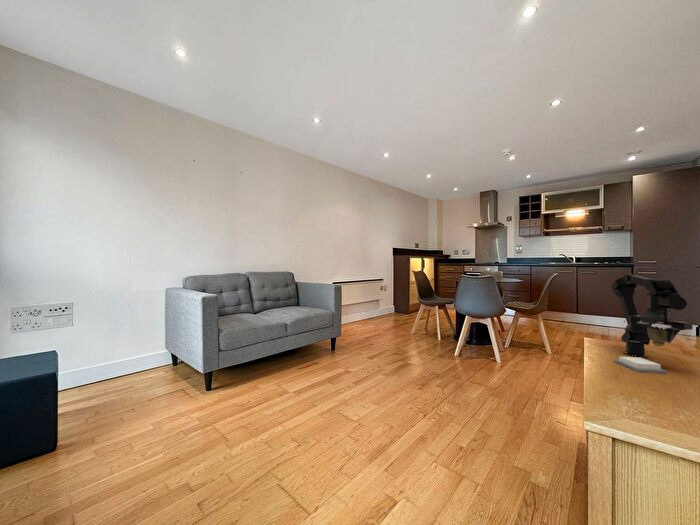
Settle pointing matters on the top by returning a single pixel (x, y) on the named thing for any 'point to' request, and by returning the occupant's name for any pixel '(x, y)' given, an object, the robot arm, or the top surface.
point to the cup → (658, 335)
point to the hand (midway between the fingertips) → (658, 340)
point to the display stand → (640, 365)
